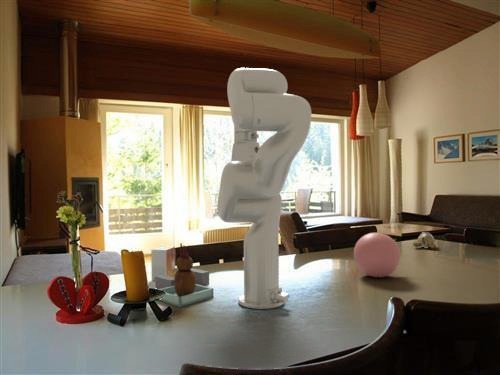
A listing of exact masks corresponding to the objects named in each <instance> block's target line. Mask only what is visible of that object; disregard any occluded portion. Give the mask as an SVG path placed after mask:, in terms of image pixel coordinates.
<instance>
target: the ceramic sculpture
mask: <svg viewBox="0 0 500 375" xmlns="http://www.w3.org/2000/svg"><path fill="white" fill-rule="evenodd" d="M417 237H418V238H417V240H414V241H413V242H412V246H413V247H414V246H415V248H419V247H420V246H424V247H431V248H430V249H434V248H436V247H437V242H436V239H435V238H434V236H433V235H432V234H431V233H430V232H428V231H427V230H424V231H422V232H421V233H420V234H419V236H417ZM418 246H419V247H418Z"/></svg>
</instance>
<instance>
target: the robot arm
mask: <svg viewBox="0 0 500 375" xmlns="http://www.w3.org/2000/svg"><path fill="white" fill-rule="evenodd" d="M226 90H227V99H228V104H229V109H230V115H231V120H232V123H233V127H234V128H233V130H234V132H233V134H234V135H233V141H234V142H233V143H232V149H231V161H229V162H228V163H227V164H225V166H224V167H223V169H222V173H221V176H220V182H219V183H220V184H219V190H218V195H217V196H218V197H217V204H216V205H217V206H216V207H217V208H216V209H217V210H216V211H217V214H218V217H219V218H220V220H222V222H225V223H232V224H233V223H252V224H251V226H250V227H249V229H248V230H247V231H246V233H245V235H244V239H243V294H242V295H240V296H239V297H238V304H239V305H241V306H242V307H244V308H249V309H255V310H265V309H266V310H269V309H274V308H278V307H281V306H282V305H284V304H287V303H288V301H289V298H290V293H286V292H283V286H280V284H279V282H280V280H279V275H280V273H279V272H280V270H279V268H280V266H279V260H280V259H279V258H280V257H279V256H280V254H279V250H280V249H279V244H280V243H279V238H280V237H279V236H280V221H281V220H280V219H281V213H282V205H283V202H282V196H281V192H282V190H283V188H284V186H285V184H286V181H287V177H288V176H289V172H290V169H291V166H292V164H293V162H294V159H295V158H296V156H297V155H298V153H299V152H300V151H301V150H302V148H303V146H304V144H305V142H306V140H307V139H308V135H309V133H310V128H311V125H312V124H311V122H312V108H311V105H310V103H309V102H308V101H307V99H305V98H304V97H302V96H299V95H295V94H292V93H291V94H290V93H287V91H288V81H287V79H286V76H285V75H284V74H282V73H281V72H280V71H278V70H274V69H269V68H252V67H251V68H249V67H246V68H245V67H240V68H236V69H234V70H233V71H232V72H231V73H230V75H229V78H228V81H227V89H226ZM258 132H276V133H274V134H273V135H272V136H270V137H269V138H267V139H266V140H265V141H264V142H263V143H262V144H261V145H260V142H258V139H259V137H260V136H259V134H258Z"/></svg>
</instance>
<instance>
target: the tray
mask: <svg viewBox="0 0 500 375" xmlns="http://www.w3.org/2000/svg"><path fill="white" fill-rule="evenodd" d="M159 290H162V291H165V292H166V295H165V297H164V298H162V299H161V301H160V302H162V301H163V303H165V302H166V304H168V305H170V306H176V307H178V308H181V307H185V306H188V305H192V304H195V303H198V302H202V301H205V300H209V299H212V298H214V288H213V287H208V286H206V285H203V286H202V285H198V284H195V289H194V293H193V294H189V295H185V296H182V297H179V296H177V294H176V291H175V286H171V287H167V288H163V289H159Z"/></svg>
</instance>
